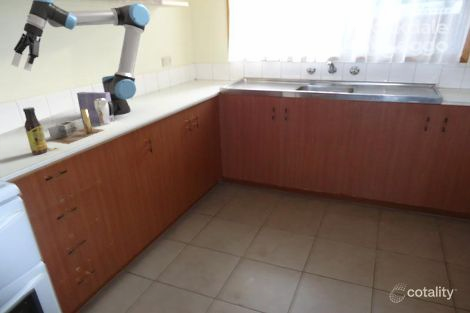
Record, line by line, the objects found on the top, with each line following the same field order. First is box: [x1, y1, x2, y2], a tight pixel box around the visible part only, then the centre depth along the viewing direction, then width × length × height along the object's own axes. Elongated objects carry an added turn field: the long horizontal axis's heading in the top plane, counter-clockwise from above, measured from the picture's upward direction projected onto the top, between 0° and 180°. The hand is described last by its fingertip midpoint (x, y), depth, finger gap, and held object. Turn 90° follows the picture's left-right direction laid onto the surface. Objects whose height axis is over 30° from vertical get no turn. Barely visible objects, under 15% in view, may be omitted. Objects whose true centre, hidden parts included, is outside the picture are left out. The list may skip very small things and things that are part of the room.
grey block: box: [55, 118, 85, 138], centre depth 161 cm, size 12×6×6 cm, turn 155°
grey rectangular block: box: [47, 125, 77, 140], centre depth 156 cm, size 12×6×6 cm, turn 155°
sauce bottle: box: [22, 106, 49, 155], centre depth 139 cm, size 7×6×20 cm
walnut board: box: [45, 127, 105, 145], centre depth 160 cm, size 22×16×2 cm
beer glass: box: [94, 98, 112, 126], centre depth 174 cm, size 7×7×15 cm
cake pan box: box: [76, 91, 115, 124], centre depth 181 cm, size 19×5×18 cm, turn 77°
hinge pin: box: [81, 109, 93, 134], centre depth 158 cm, size 3×3×12 cm
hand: (20, 68), depth 155 cm, fingers open, 13 cm apart
